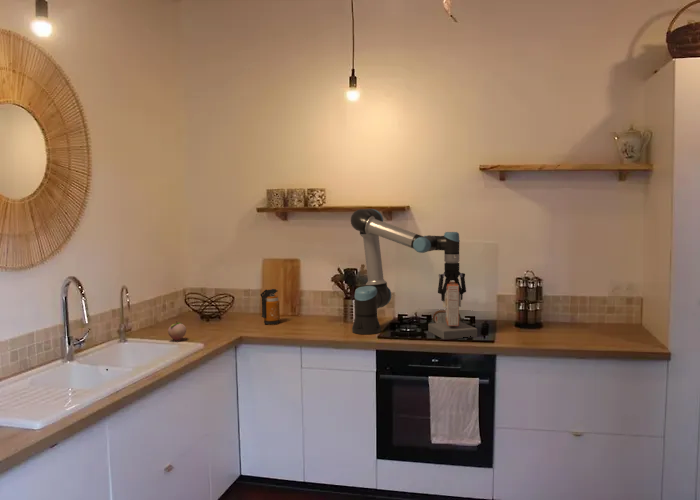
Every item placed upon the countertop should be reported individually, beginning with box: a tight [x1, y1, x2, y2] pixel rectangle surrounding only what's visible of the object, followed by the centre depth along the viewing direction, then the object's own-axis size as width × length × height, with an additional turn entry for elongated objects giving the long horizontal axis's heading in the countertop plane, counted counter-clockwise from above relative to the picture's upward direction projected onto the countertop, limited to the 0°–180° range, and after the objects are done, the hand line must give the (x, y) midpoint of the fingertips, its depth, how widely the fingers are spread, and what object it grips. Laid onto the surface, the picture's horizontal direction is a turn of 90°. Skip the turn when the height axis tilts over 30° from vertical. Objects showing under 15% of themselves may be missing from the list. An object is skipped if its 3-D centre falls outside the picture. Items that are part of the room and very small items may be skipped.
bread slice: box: [432, 309, 462, 323], centre depth 321 cm, size 15×3×8 cm, turn 84°
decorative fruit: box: [167, 321, 187, 341], centre depth 295 cm, size 9×8×10 cm
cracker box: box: [445, 281, 460, 326], centre depth 299 cm, size 14×6×21 cm, turn 175°
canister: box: [260, 288, 281, 325], centre depth 334 cm, size 9×11×20 cm
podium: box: [427, 320, 478, 340], centre depth 300 cm, size 18×20×4 cm
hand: (452, 306), depth 299 cm, fingers closed on cracker box, 7 cm apart
